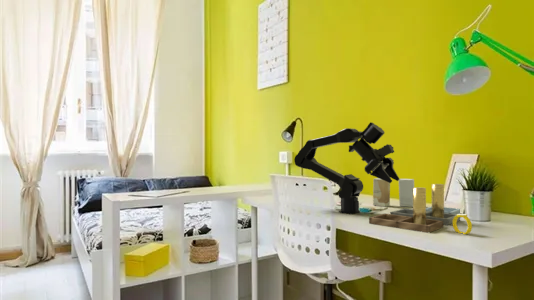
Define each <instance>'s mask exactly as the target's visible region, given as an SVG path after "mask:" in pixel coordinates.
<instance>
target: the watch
mask: <svg viewBox="0 0 534 300" xmlns="http://www.w3.org/2000/svg"><path fill="white" fill-rule="evenodd" d="M458 217H460V218H463V219H464V220H465V221H466V223H467V229H466V231H465V232H464V231H461V230H460V229H459V227H458V225H457V223H458V222H457V219H458ZM452 227H453V229H454V231H455V232H456V233H457V232H458V233H457V234H461V233H463V234H462V235H464V234H465V235H468V234H470V233H471V232H472V229H473V223H472V221H471V219H470V218H469V216H468V214H466V213H462V214H457V216H455V217H454V219H453V223H452Z"/></svg>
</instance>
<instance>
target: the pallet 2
mask: <svg viewBox="0 0 534 300" xmlns="http://www.w3.org/2000/svg"><path fill="white" fill-rule="evenodd" d="M389 214H393V215H400V216H408V217H413V208H411V209H410V208H401V209H398V210H397V209H396V210H393V211H390V212H389ZM455 216H457V215H456V214H448V213H444V218H438V217H432V212H430V211H426V219H431V220H439V221H443V226H450V225H453V219H454V217H455ZM457 221H458V222H460V221H461V217H458V219H457Z"/></svg>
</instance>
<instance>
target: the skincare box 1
mask: <svg viewBox="0 0 534 300" xmlns="http://www.w3.org/2000/svg"><path fill="white" fill-rule="evenodd" d="M372 180H373V183H372V184H373V187H372V192H373V194H372V205H373V206H375V205H376V206H378V207H384V208H386V207H390V205H391V201H390V200H391V183H389V182H386V181H384V180H382V179H380V178H377V177H376V178H373V179H372Z"/></svg>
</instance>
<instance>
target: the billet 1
mask: <svg viewBox="0 0 534 300" xmlns="http://www.w3.org/2000/svg"><path fill="white" fill-rule="evenodd" d="M426 208H427V188H426V187H419V186H418V187H415V186H414V188H413V207H412V209H413V223H415V224H422V225H426Z"/></svg>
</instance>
